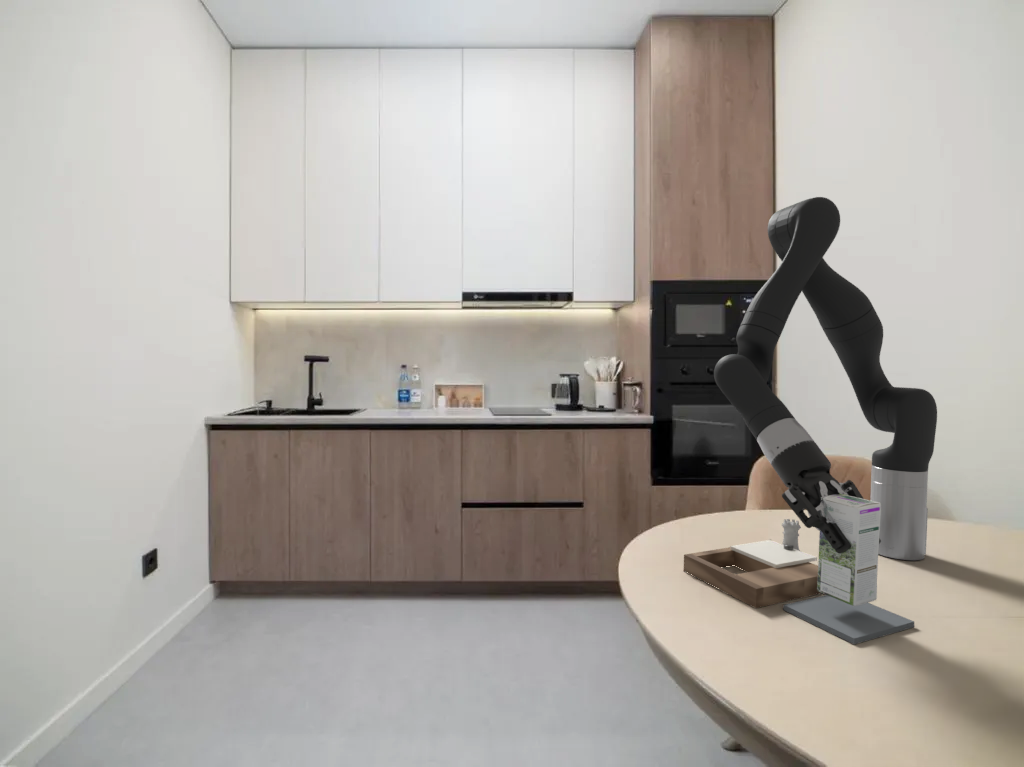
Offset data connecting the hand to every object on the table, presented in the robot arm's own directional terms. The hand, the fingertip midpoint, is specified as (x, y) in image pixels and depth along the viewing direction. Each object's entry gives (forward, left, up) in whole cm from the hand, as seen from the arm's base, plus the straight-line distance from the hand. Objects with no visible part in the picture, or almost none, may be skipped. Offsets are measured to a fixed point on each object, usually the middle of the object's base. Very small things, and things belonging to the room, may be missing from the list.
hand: (860, 547), depth 79 cm
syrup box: (0, -2, -8) cm, 8 cm away
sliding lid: (-5, -19, -8) cm, 21 cm away
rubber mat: (0, -2, -11) cm, 11 cm away
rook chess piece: (-12, -21, -11) cm, 27 cm away
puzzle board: (+1, -17, -11) cm, 20 cm away
